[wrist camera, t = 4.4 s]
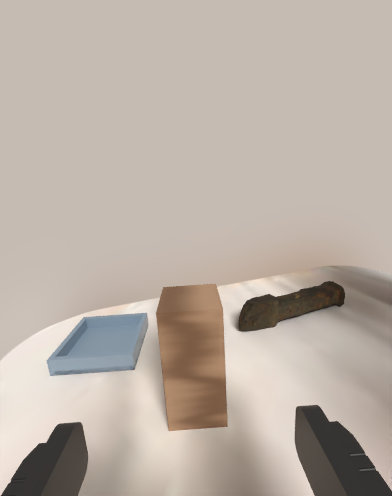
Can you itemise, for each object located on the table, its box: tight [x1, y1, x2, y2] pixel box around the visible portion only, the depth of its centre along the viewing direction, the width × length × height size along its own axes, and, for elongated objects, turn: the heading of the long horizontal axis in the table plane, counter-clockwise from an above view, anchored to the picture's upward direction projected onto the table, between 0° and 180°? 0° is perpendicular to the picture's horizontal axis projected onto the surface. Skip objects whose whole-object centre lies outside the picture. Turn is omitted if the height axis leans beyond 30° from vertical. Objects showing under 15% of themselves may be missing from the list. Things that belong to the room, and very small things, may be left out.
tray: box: [47, 313, 148, 376], centre depth 32 cm, size 10×10×2 cm
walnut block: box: [156, 284, 227, 431], centre depth 21 cm, size 5×5×11 cm
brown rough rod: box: [239, 281, 345, 331], centre depth 37 cm, size 19×4×5 cm, turn 110°
